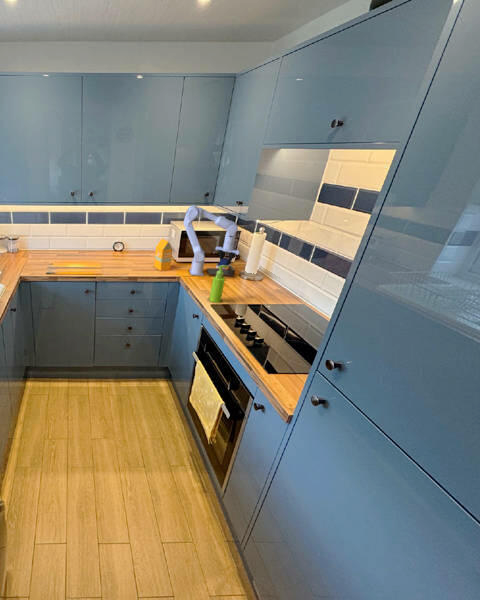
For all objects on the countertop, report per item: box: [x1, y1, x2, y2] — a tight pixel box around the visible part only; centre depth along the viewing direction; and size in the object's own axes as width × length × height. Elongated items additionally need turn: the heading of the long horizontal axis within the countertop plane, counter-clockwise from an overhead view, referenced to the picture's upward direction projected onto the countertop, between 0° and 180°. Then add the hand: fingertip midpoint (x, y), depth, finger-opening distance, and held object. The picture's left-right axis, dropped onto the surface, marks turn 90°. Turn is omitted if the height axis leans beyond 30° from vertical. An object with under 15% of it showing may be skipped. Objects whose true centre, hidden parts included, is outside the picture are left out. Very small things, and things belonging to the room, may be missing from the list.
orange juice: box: [153, 238, 174, 272], centre depth 221 cm, size 8×9×20 cm
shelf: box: [205, 264, 236, 278], centre depth 214 cm, size 11×15×4 cm
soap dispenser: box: [208, 265, 229, 304], centre depth 174 cm, size 6×7×20 cm
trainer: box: [215, 257, 232, 269], centre depth 206 cm, size 11×5×4 cm, turn 132°
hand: (225, 263), depth 207 cm, fingers closed on trainer, 4 cm apart
